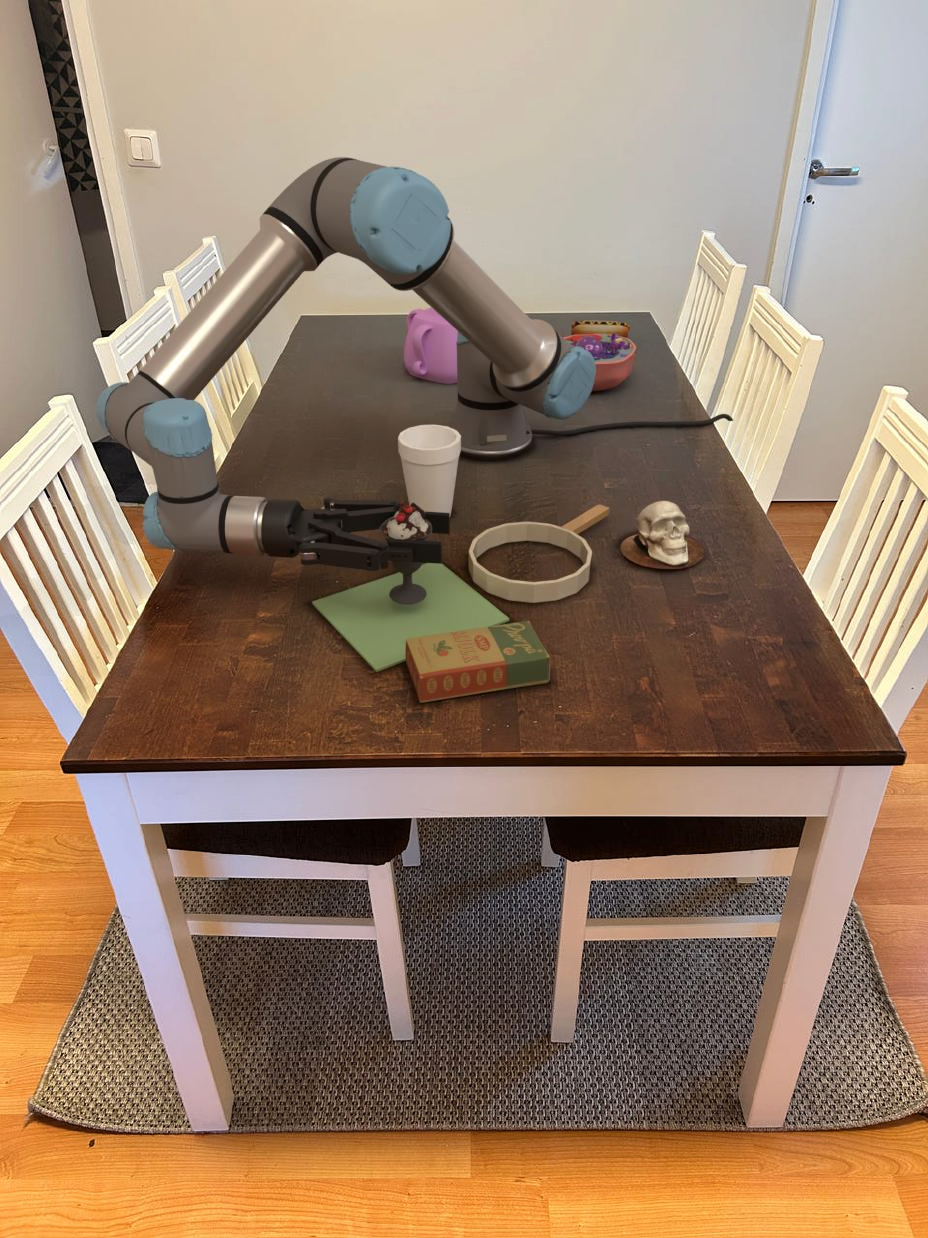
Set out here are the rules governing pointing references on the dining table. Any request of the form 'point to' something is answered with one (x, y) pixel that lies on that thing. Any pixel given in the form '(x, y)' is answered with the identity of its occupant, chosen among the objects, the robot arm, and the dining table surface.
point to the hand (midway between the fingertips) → (445, 537)
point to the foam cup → (430, 465)
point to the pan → (538, 533)
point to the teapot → (431, 347)
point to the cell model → (607, 357)
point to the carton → (476, 661)
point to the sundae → (408, 527)
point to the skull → (662, 539)
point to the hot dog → (600, 327)
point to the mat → (405, 613)
